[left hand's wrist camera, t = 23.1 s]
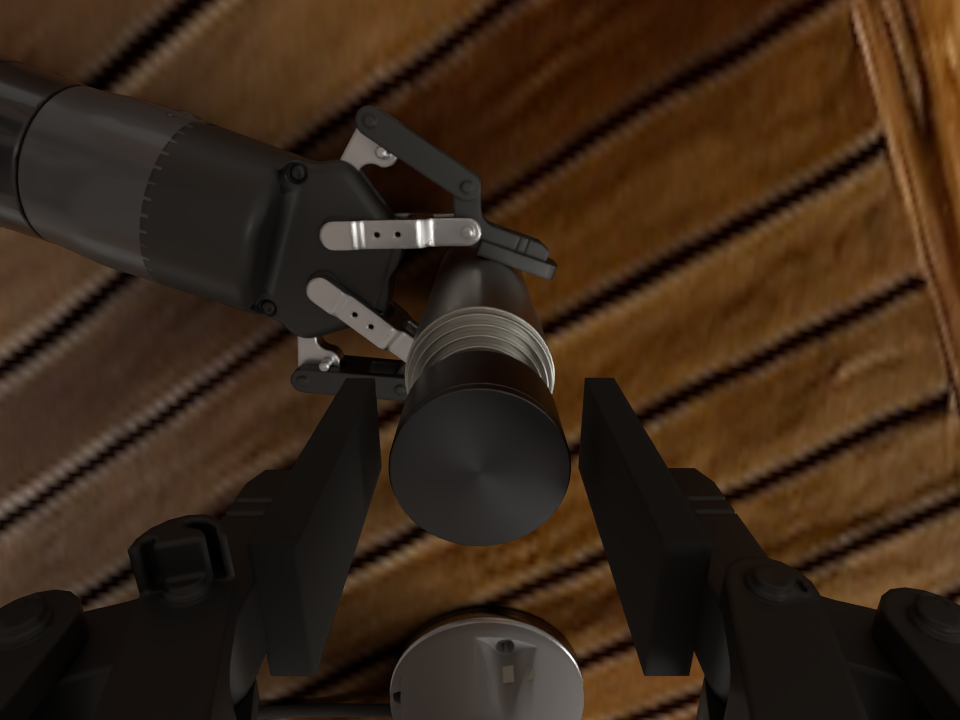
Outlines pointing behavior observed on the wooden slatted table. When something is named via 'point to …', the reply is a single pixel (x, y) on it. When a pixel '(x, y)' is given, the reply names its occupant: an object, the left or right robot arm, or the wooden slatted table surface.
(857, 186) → the wooden slatted table surface
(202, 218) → the right robot arm
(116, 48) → the wooden slatted table surface
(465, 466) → the cap
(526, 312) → the bottle
